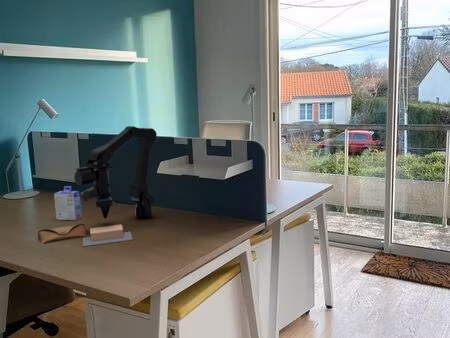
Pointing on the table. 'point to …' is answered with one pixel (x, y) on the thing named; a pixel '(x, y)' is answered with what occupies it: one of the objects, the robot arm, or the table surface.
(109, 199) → the robot arm
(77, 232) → the sunglasses case
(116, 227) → the beige rectangular block
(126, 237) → the mat
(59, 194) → the ink cartridge box
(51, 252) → the table surface
